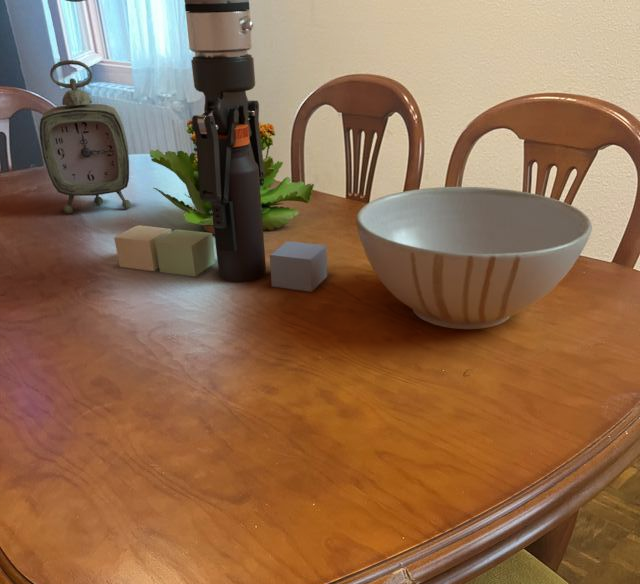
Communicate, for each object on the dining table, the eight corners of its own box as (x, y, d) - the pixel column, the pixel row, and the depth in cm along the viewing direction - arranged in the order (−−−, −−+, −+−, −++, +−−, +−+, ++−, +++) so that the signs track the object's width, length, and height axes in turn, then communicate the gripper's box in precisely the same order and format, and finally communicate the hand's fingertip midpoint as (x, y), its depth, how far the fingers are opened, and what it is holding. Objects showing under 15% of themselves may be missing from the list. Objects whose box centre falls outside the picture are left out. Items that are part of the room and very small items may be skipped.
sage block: (160, 275, 96) (154, 241, 94) (181, 261, 101) (176, 229, 98) (196, 279, 95) (191, 245, 92) (216, 265, 99) (212, 232, 96)
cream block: (120, 269, 99) (113, 237, 96) (143, 256, 103) (137, 224, 100) (154, 274, 97) (148, 241, 94) (176, 260, 101) (171, 228, 99)
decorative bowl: (451, 385, 68) (463, 274, 62) (316, 300, 87) (313, 208, 81) (619, 323, 80) (644, 223, 73) (467, 260, 99) (476, 176, 92)
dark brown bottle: (274, 270, 96) (265, 122, 85) (252, 287, 91) (238, 131, 80) (234, 264, 99) (220, 119, 87) (210, 280, 94) (191, 129, 82)
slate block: (271, 290, 91) (269, 254, 88) (288, 274, 95) (287, 240, 93) (312, 295, 89) (310, 259, 86) (327, 279, 94) (327, 245, 91)
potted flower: (241, 261, 100) (229, 138, 91) (126, 239, 110) (105, 126, 101) (321, 217, 118) (319, 111, 109) (216, 202, 128) (206, 103, 119)
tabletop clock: (57, 217, 122) (20, 64, 108) (61, 204, 129) (27, 59, 115) (137, 210, 124) (111, 60, 110) (137, 198, 132) (112, 56, 118)
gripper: (209, 62, 70) (230, 268, 83) (283, 46, 86) (291, 223, 98) (149, 61, 73) (179, 262, 86) (231, 46, 88) (246, 219, 101)
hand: (239, 241), depth 92 cm, fingers closed on dark brown bottle, 7 cm apart
